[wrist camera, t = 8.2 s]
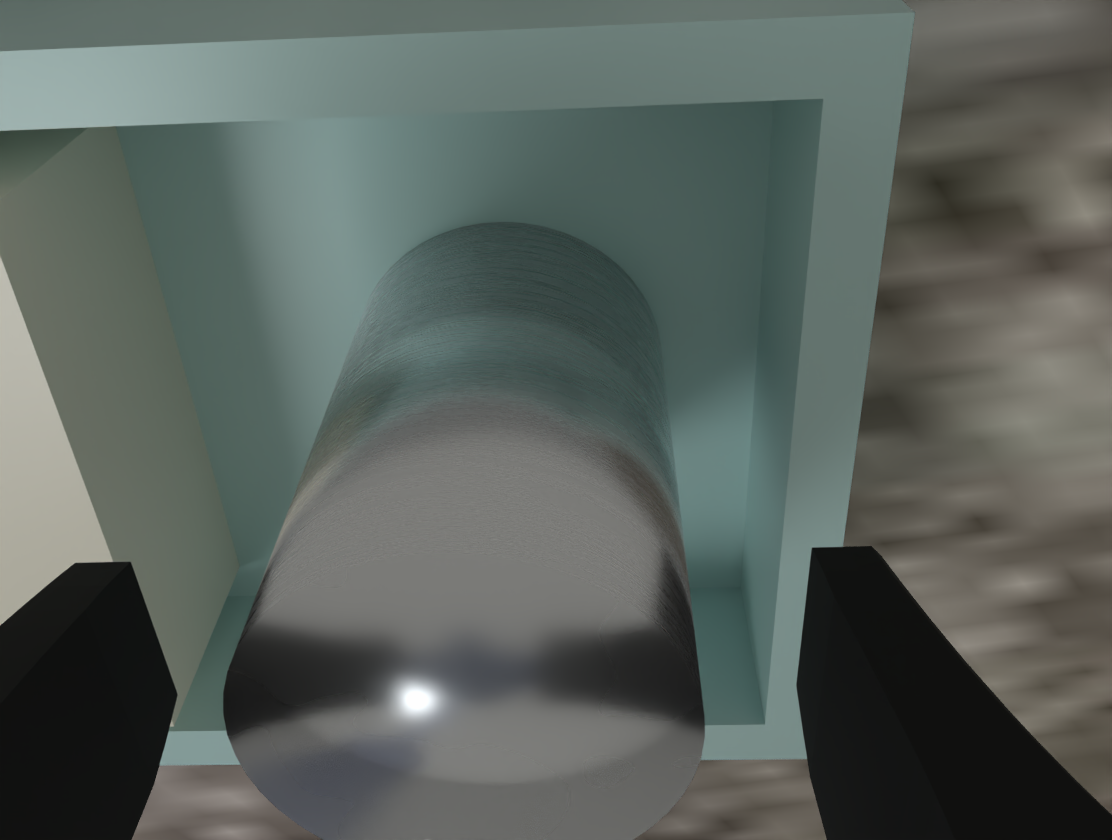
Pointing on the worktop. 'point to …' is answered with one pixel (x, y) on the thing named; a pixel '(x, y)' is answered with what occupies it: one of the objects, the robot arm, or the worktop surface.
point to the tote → (524, 197)
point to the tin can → (481, 565)
